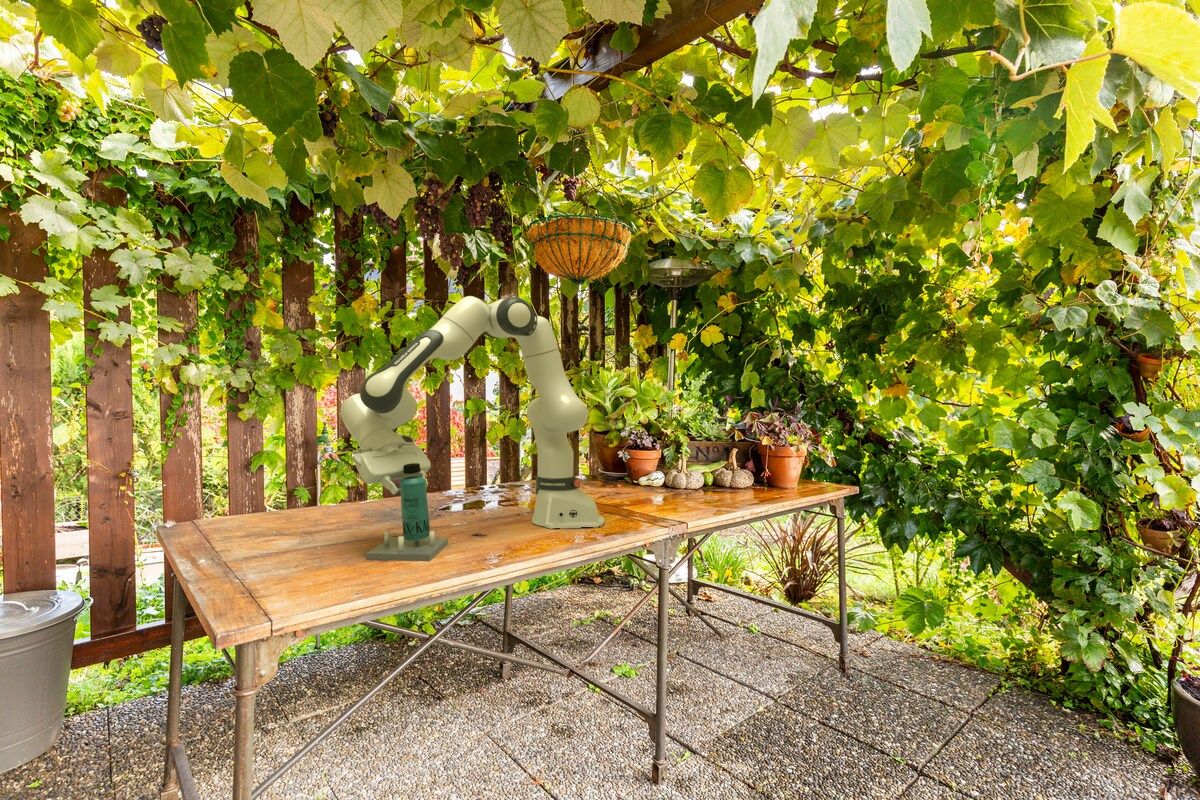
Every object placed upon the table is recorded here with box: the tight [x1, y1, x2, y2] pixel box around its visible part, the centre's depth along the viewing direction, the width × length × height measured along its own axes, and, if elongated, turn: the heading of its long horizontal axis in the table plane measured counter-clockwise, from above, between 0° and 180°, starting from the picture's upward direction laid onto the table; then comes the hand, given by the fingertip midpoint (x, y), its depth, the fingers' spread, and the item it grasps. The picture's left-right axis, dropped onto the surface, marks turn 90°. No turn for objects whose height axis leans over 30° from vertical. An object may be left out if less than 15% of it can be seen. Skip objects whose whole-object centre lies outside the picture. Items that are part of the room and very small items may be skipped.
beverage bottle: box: [399, 463, 431, 541], centre depth 138 cm, size 6×7×20 cm
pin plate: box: [365, 529, 449, 562], centre depth 137 cm, size 15×15×5 cm
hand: (411, 489), depth 137 cm, fingers open, 8 cm apart
